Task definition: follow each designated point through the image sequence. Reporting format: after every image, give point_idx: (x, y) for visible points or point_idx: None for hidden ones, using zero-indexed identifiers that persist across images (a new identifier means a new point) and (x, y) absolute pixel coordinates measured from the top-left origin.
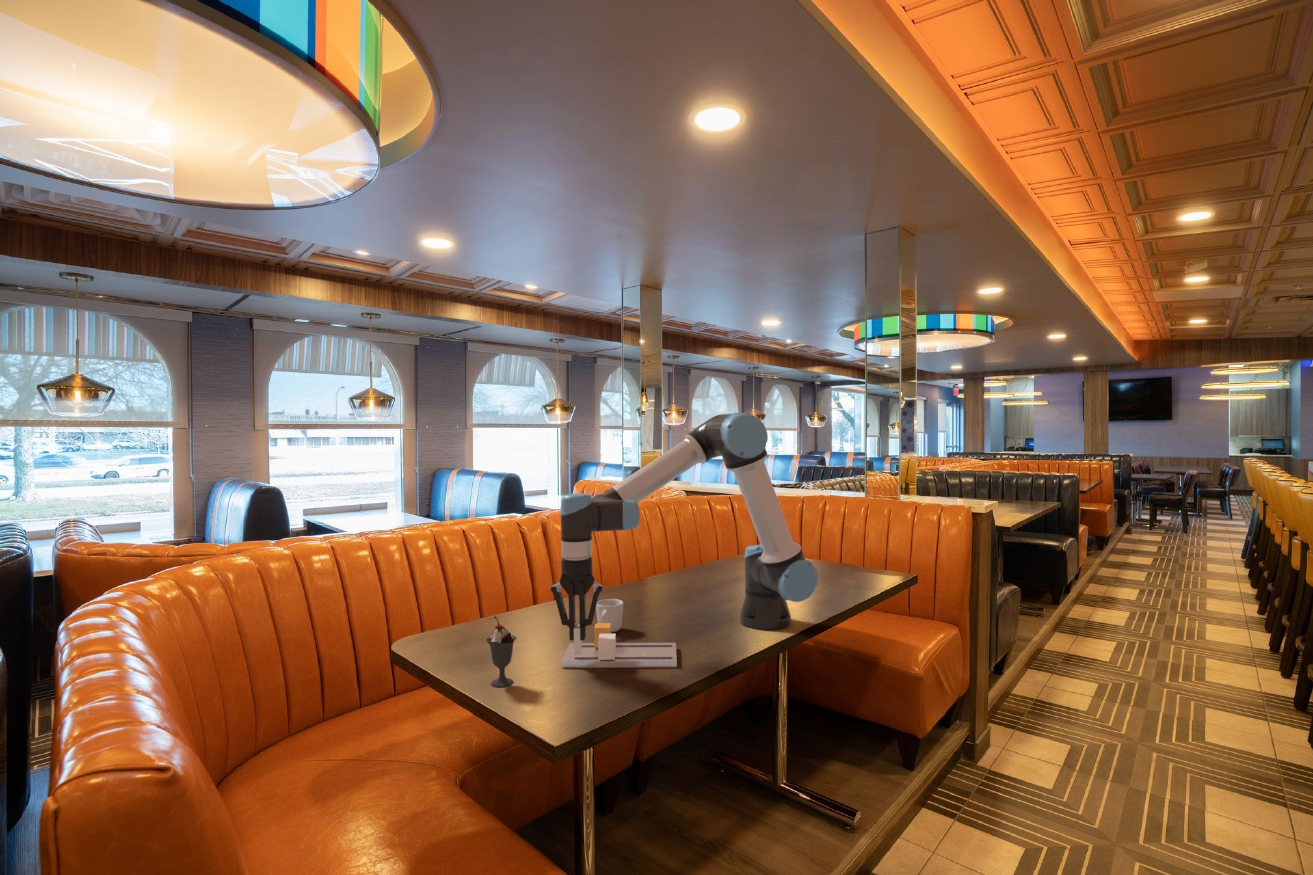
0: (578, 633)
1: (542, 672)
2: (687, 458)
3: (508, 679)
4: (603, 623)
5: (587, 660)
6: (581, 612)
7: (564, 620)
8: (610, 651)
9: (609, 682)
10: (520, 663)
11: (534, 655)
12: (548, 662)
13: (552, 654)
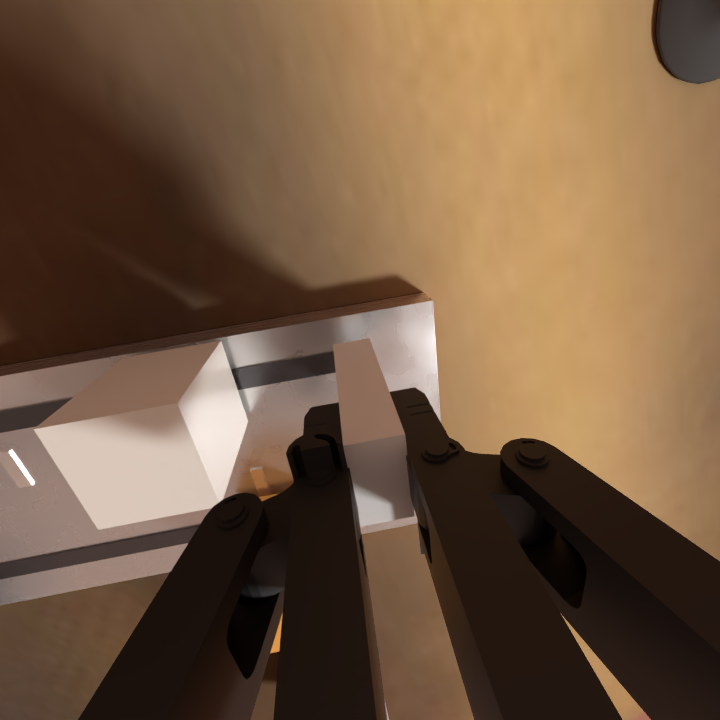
0: (352, 413)
1: (507, 212)
2: None
3: (696, 18)
4: (278, 646)
5: (289, 338)
6: (330, 630)
7: (542, 476)
8: (124, 375)
9: (57, 106)
10: (629, 311)
11: (575, 409)
12: (499, 345)
13: (498, 433)
